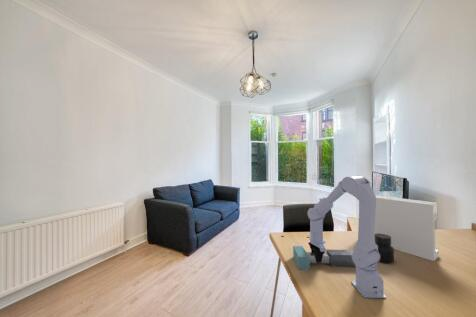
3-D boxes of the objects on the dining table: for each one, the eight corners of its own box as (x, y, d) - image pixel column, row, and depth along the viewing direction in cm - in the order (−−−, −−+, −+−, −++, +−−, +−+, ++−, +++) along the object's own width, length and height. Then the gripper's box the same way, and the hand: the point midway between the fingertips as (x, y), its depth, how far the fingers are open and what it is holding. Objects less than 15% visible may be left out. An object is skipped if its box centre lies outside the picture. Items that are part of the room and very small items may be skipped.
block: (359, 238, 128) (358, 195, 128) (365, 235, 132) (364, 193, 133) (433, 261, 98) (432, 204, 99) (438, 256, 103) (437, 202, 103)
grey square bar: (343, 263, 95) (342, 256, 95) (304, 262, 96) (304, 255, 96) (339, 259, 98) (339, 252, 98) (302, 259, 99) (302, 252, 99)
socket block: (309, 269, 91) (309, 257, 92) (299, 269, 92) (298, 256, 92) (302, 257, 103) (302, 246, 104) (293, 257, 104) (293, 246, 104)
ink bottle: (381, 254, 106) (381, 231, 106) (399, 262, 98) (398, 237, 98) (367, 257, 103) (367, 234, 103) (385, 265, 95) (384, 240, 95)
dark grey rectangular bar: (361, 267, 93) (361, 255, 93) (331, 266, 94) (330, 254, 94) (355, 261, 99) (354, 249, 99) (326, 260, 100) (326, 249, 100)
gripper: (331, 237, 90) (332, 267, 90) (318, 227, 105) (318, 253, 104) (316, 237, 90) (316, 268, 90) (305, 227, 105) (305, 253, 104)
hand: (316, 260), depth 97 cm, fingers closed on grey square bar, 4 cm apart
